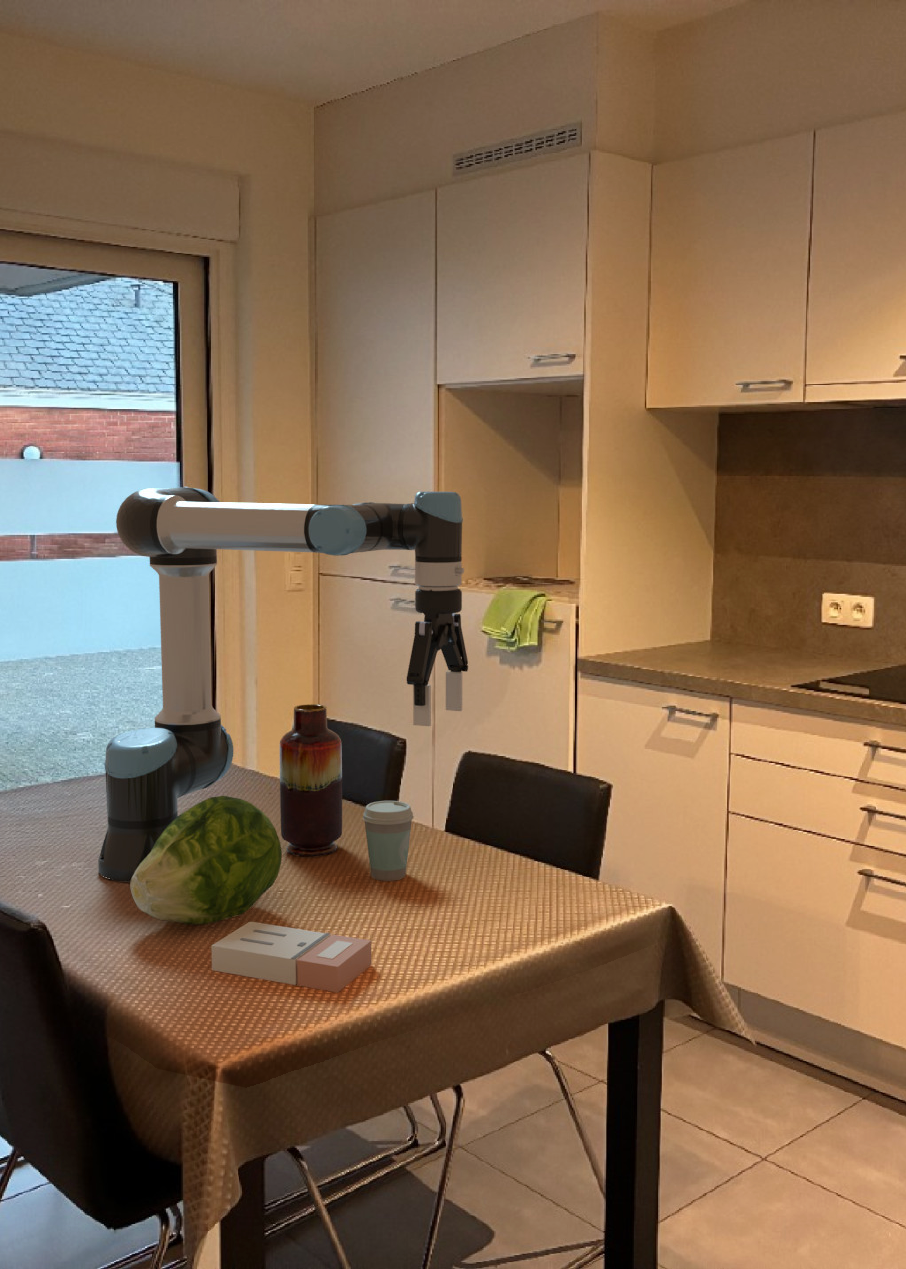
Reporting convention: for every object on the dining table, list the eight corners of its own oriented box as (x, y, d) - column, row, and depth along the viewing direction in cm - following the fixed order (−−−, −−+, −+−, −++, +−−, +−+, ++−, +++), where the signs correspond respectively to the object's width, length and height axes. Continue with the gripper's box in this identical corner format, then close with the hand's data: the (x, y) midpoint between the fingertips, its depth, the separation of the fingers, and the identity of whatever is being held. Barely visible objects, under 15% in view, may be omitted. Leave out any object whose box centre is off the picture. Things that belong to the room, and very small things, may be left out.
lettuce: (110, 916, 192) (98, 813, 185) (240, 861, 207) (233, 764, 200) (172, 974, 179) (161, 866, 172) (306, 911, 194) (301, 809, 187)
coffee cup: (407, 885, 206) (406, 814, 204) (357, 881, 208) (356, 811, 206) (418, 869, 214) (418, 801, 213) (370, 866, 216) (370, 798, 214)
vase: (303, 862, 218) (301, 715, 214) (269, 848, 226) (266, 706, 223) (354, 850, 225) (353, 707, 222) (319, 837, 233) (317, 699, 230)
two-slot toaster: (211, 970, 171) (211, 944, 170) (250, 944, 180) (250, 920, 179) (295, 985, 166) (295, 959, 165) (330, 958, 175) (330, 933, 174)
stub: (297, 985, 166) (297, 959, 165) (332, 958, 175) (332, 933, 174) (337, 992, 163) (337, 966, 163) (371, 965, 172) (371, 939, 172)
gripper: (429, 595, 188) (430, 734, 191) (487, 582, 211) (486, 706, 214) (384, 593, 191) (385, 730, 194) (446, 580, 214) (445, 703, 217)
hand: (438, 717), depth 204 cm, fingers open, 13 cm apart
